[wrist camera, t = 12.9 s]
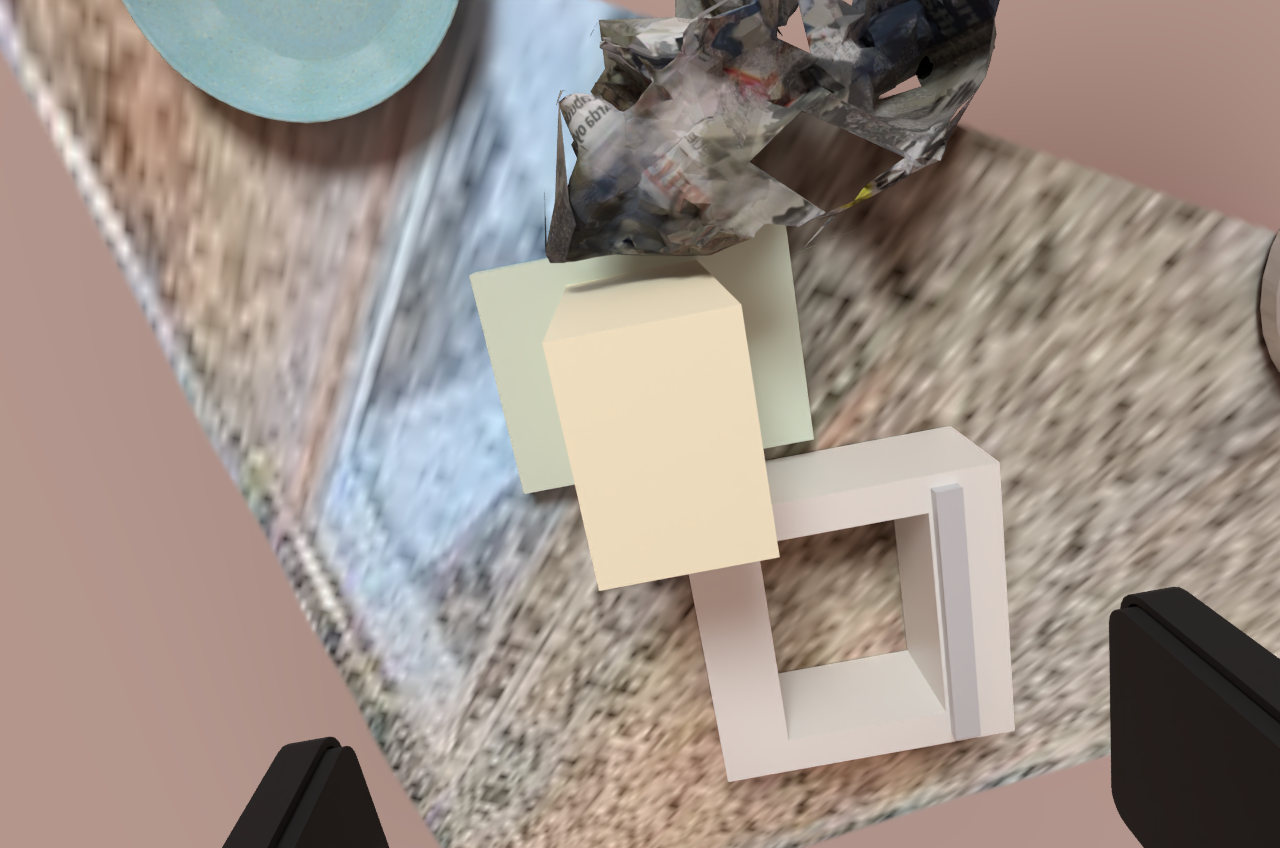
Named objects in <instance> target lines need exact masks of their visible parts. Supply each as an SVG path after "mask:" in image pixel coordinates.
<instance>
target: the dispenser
mask: <svg viewBox="0 0 1280 848" xmlns="http://www.w3.org/2000/svg"><path fill="white" fill-rule="evenodd" d="M765 464H766V470H767V477H768V483H769V490H770V497H771V503H772V510H773V516H774V523H775V530H776V536H777V541H781V540H786V539H792V538H797V537H802V536H808V535H813V534H819V533H824V532H829V531H835V530H840V529H845V528H851V527H856V526H862V525H867V524H872V523H878V522H883V521H889V520H894V524H895V534H896V544H897V554H898V564H899V574H900V583H901V593H902V603H903V613H904V623H905V633H906V643H907V650H905V651H900V652H894V653H889V654H883V655H878V656H872V657H867V658H861V659H856V660H850V661H845V662H839V663H834V664H828V665H823V666H817V667H812V668H806V669H801V670H795V671H790V672H784V673H779V674H778V670H777V664H776V657H775V651H774V645H773V639H772V632H771V626H770V620H769V613H768V607H767V601H766V595H765V588H764V582H763V576H762V569H761V563H760V561H757V562H751V563H746V564H741V565H735V566H730V567H724V568H719V569H714V570H708V571H703V572H698V573H692V574H689V578H690V584H691V589H692V594H693V599H694V605H695V610H696V615H697V620H698V626H699V631H700V636H701V642H702V647H703V652H704V657H705V663H706V668H707V673H708V678H709V684H710V689H711V694H712V699H713V705H714V710H715V715H716V720H717V726H718V731H719V736H720V741H721V747H722V752H723V757H724V762H725V768H726V773H727V778H728V782H731V781H737V780H743V779H748V778H754V777H759V776H765V775H770V774H776V773H782V772H787V771H793V770H798V769H804V768H810V767H815V766H821V765H826V764H832V763H838V762H843V761H849V760H854V759H860V758H866V757H871V756H877V755H882V754H888V753H894V752H899V751H905V750H910V749H916V748H922V747H927V746H933V745H938V744H944V743H949V742H955V741H961V740H966V739H972V738H977V737H983V736H989V735H994V734H1000V733H1005V732H1011V731H1015V726H1014V709H1013V691H1012V673H1011V656H1010V638H1009V620H1008V603H1007V585H1006V568H1005V550H1004V532H1003V515H1002V497H1001V479H1000V462H998V461H997V460H996V459H994V458H993V457H992V456H990V455H989V454H987V453H986V452H985V451H983V450H982V449H981V448H979V447H978V446H977V445H975V444H974V443H973V442H971V441H970V440H969V439H967V438H966V437H965V436H963V435H962V434H960V433H959V432H958V431H956V430H955V429H954V428H952V427H951V426H948V427H942V428H937V429H932V430H926V431H921V432H916V433H910V434H905V435H900V436H894V437H889V438H884V439H879V440H873V441H868V442H863V443H857V444H852V445H847V446H841V447H836V448H831V449H825V450H820V451H815V452H810V453H804V454H799V455H794V456H788V457H783V458H778V459H772V460H767V461H765Z"/></svg>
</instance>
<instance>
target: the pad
mask: <svg viewBox="0 0 1280 848" xmlns="http://www.w3.org/2000/svg"><path fill="white" fill-rule="evenodd" d="M693 260H697V261H698V262H699V263H700V264H701V265H702V266H703V267H704V268H705V269H706V270H707V271H708V272H709V273H710V274H711V275H712V276H713V277H714V278H715V279H716V280H717V281H718V282H719V283H720V284H721V285H722V286H723V287H724V288H725V289H726V290H727V291H728V292H729V293H730V294H731V295H732V296H733V297H734V298H735V299H736V300H737V301H738V302H739V303H740V304H741V305H742V312H743V318H744V325H745V331H746V338H747V345H748V351H749V358H750V364H751V371H752V378H753V384H754V391H755V397H756V404H757V411H758V417H759V424H760V430H761V437H762V444H763V449H765V448H771V447H776V446H781V445H786V444H792V443H797V442H802V441H808V440H813V439H814V437H813V430H812V422H811V414H810V407H809V399H808V391H807V384H806V376H805V368H804V360H803V353H802V345H801V337H800V330H799V322H798V314H797V307H796V299H795V291H794V284H793V276H792V268H791V261H790V253H789V245H788V237H787V230H786V225H772V224H764V225H763V226H762V227H761V228H760V229H759V230H758V231H757V232H756V233H755V236H754V238H752V239H749V240H747V241H744V242H741V243H739V244H736V245H734V246H731V247H728V248H726V249H724V250H722V251H720V252H717V253H715V254H713V255H707V256H700V255H697V256H638V255H608V256H602V257H595V258H590V259H585V260H581V261H576V262H565V263H550V262H549V260H548V258H545V259H539V260H534V261H529V262H524V263H519V264H514V265H509V266H504V267H499V268H493V269H488V270H483V271H478V272H474V273H473V274H471V275H470V280H471V284H472V288H473V292H474V296H475V300H476V304H477V308H478V312H479V316H480V320H481V324H482V328H483V332H484V336H485V340H486V344H487V348H488V352H489V356H490V360H491V364H492V368H493V372H494V376H495V380H496V384H497V388H498V392H499V396H500V400H501V404H502V408H503V412H504V416H505V420H506V424H507V428H508V432H509V436H510V440H511V444H512V448H513V452H514V456H515V460H516V464H517V468H518V472H519V476H520V479H521V483H522V487H523V491H524V494H527V493H532V492H538V491H543V490H548V489H553V488H559V487H564V486H569V485H575V483H574V479H573V474H572V470H571V466H570V461H569V457H568V453H567V448H566V444H565V440H564V435H563V431H562V427H561V422H560V418H559V413H558V409H557V405H556V400H555V396H554V392H553V387H552V383H551V379H550V374H549V370H548V366H547V361H546V357H545V353H544V348H543V344H542V343H543V340H544V338H545V336H546V333H547V331H548V328H549V326H550V324H551V321H552V319H553V317H554V314H555V312H556V309H557V307H558V305H559V302H560V300H561V297H562V295H563V293H564V290H565V288H566V286H567V285H570V284H575V283H581V282H586V281H591V280H596V279H601V278H606V277H611V276H616V275H622V274H627V273H632V272H637V271H642V270H647V269H652V268H657V267H662V266H668V265H673V264H678V263H683V262H688V261H693Z"/></svg>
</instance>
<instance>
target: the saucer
mask: <svg viewBox="0 0 1280 848" xmlns="http://www.w3.org/2000/svg"><path fill="white" fill-rule="evenodd" d="M122 1H123V4H124V5H125V7H126V8H127V10H128V12H129V14H130V15H131V17H132V18H133V20H134V22H135V23H136V25H137V26H138V28H139V29H140V30H141V32H142V33H143V34H144V36H145V37H146V39H147V40H148V41H149V42H150V44H151V45H152V46H153V47H154V48H155V49H156V50H157V51H158V52H159V53H160V54H161V57H162V58H163V59H165V60H166V61H167V63H168V64H169V65H170V66H171V67H172V68H173V69H174V70H175V71H177V72H179V73H180V74H181V75H182V76H183V77H184V78H185V79H187V80H188V81H189V82H191V83H192V84H193V85H195V86H196V87H198V88H199V89H201V90H202V91H204V92H206V93H207V94H209V95H211V96H212V97H214V98H216V99H217V100H219V101H221V102H224V103H226V104H228V105H230V106H232V107H234V108H236V109H238V110H242V111H244V112H247V113H250V114H253V115H256V116H259V117H264V118H266V119H272V120H279V121H287V122H299V123H312V124H313V122H327V121H331V120H335V119H342V118H345V117H349V116H352V115H355V114H358V113H361V112H364V111H366V110H368V109H370V108H372V107H375V106H376V105H378V104H380V103H382V102H383V101H385V100H387V99H388V98H390V97H391V96H393V95H395V94H396V93H397V92H398V91H400V90H401V89H402V88H404V87H405V86H406V85H408V84H409V83H410V82H411V81H412V80H413V79H414V78H415V77H416V76H417V75H418V74H419V73H420V72H421V71H422V69H423V68H424V67H425V66H426V65H427V64H428V63H429V62H430V60H431V58H432V57H433V55H434V54H435V53H436V51H437V49H438V48H439V46H440V45H441V43H442V41H443V39H444V37H445V35H446V33H447V31H448V29H449V27H450V25H451V23H452V20H453V18H454V15H455V12H456V9H457V7H458V2H459V0H122Z"/></svg>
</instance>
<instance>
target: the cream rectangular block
mask: <svg viewBox="0 0 1280 848" xmlns="http://www.w3.org/2000/svg"><path fill="white" fill-rule="evenodd" d="M542 344H543V348H544V353H545V357H546V361H547V366H548V370H549V374H550V379H551V383H552V387H553V392H554V396H555V400H556V405H557V409H558V413H559V418H560V422H561V427H562V431H563V435H564V440H565V444H566V448H567V453H568V457H569V461H570V466H571V470H572V474H573V479H574V483H575V487H576V492H577V496H578V500H579V505H580V509H581V514H582V518H583V522H584V527H585V531H586V535H587V540H588V544H589V548H590V553H591V557H592V561H593V566H594V570H595V574H596V579H597V583H598V587H599V591H601V590H606V589H611V588H617V587H622V586H628V585H633V584H638V583H644V582H649V581H655V580H660V579H665V578H671V577H676V576H681V575H687V574H692V573H698V572H703V571H708V570H714V569H719V568H724V567H730V566H735V565H741V564H746V563H751V562H757V561H762V560H767V559H773V558H778V557H780V556H779V549H778V543H777V536H776V530H775V523H774V516H773V510H772V503H771V497H770V490H769V483H768V477H767V470H766V464H765V457H764V450H763V444H762V437H761V430H760V424H759V417H758V411H757V404H756V397H755V391H754V384H753V378H752V371H751V364H750V358H749V351H748V345H747V338H746V331H745V325H744V318H743V312H742V305H741V304H740V303H739V302H738V301H737V300H736V299H735V298H734V297H733V296H732V295H731V294H730V293H729V292H728V291H727V290H726V289H725V288H724V287H723V286H722V285H721V284H720V283H719V282H718V281H717V280H716V279H715V278H714V277H713V276H712V275H711V274H710V273H709V272H708V271H707V270H706V269H705V268H704V267H703V266H702V265H701V264H700V263H699V262H698V261H697V260H693V261H688V262H683V263H678V264H673V265H668V266H662V267H657V268H652V269H647V270H642V271H637V272H632V273H627V274H622V275H616V276H611V277H606V278H601V279H596V280H591V281H586V282H581V283H575V284H570V285H567V286H566V288H565V290H564V293H563V295H562V297H561V300H560V302H559V305H558V307H557V309H556V312H555V314H554V317H553V319H552V321H551V324H550V326H549V328H548V331H547V333H546V336H545V338H544V340H543V343H542Z"/></svg>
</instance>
